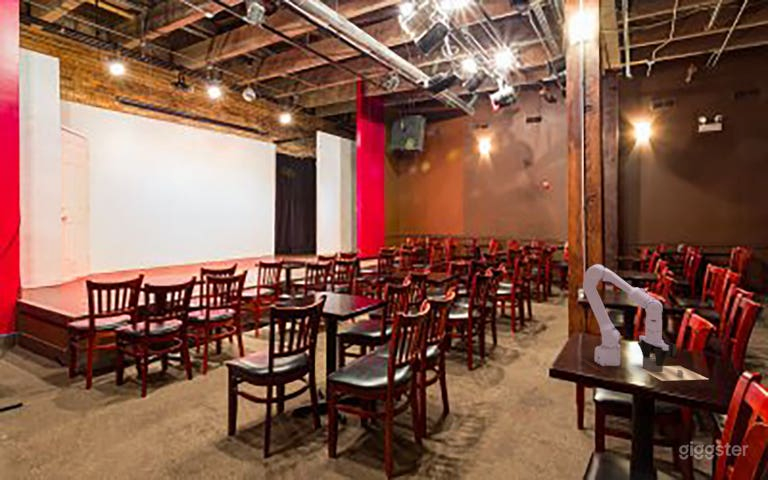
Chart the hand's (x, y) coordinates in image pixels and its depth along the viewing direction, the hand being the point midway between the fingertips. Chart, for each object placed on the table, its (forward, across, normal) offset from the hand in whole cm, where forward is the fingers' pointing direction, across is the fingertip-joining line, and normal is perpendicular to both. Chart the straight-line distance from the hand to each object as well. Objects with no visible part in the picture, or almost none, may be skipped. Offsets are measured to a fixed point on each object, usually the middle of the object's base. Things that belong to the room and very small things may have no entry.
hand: (652, 362), depth 177 cm
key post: (+3, -7, -6) cm, 10 cm away
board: (+5, -4, -5) cm, 8 cm away
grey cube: (+3, 0, 0) cm, 3 cm away
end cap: (+5, +22, -20) cm, 30 cm away
